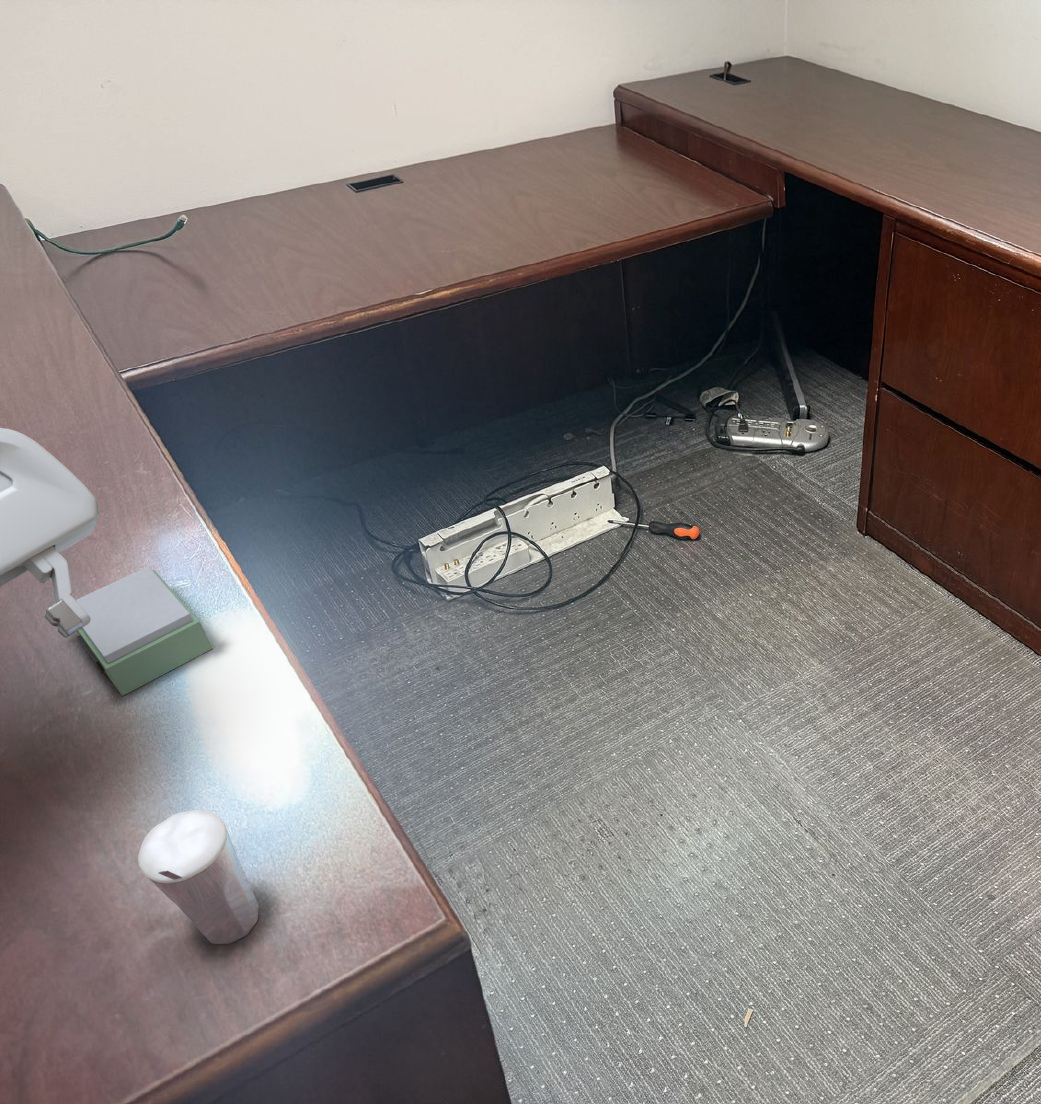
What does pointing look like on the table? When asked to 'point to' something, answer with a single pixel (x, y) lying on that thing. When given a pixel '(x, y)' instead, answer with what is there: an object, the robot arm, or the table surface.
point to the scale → (139, 630)
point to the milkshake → (201, 874)
